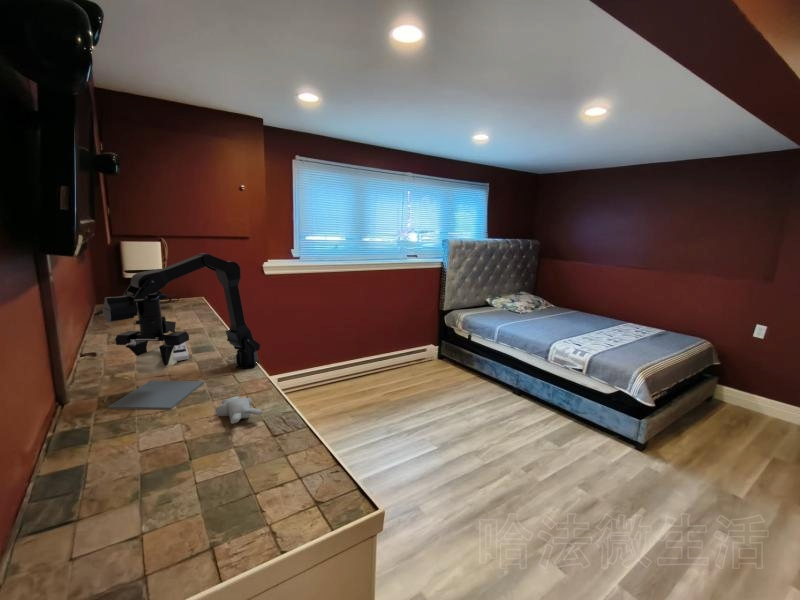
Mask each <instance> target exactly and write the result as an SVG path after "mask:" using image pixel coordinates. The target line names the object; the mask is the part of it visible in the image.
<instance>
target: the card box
mask: <svg viewBox="0 0 800 600" xmlns="http://www.w3.org/2000/svg"><path fill="white" fill-rule="evenodd" d="M135 360H136V361H135V362H136V369H137V373H138V374H151V375H152V374H153V375H156V374H157V373H160V372H162V371H164V370H165V369H168V368H169V367H172V366H173V365H175V361H174V353H173V350H172V353H171V356H170V360H169V363H168V365H166V366H165V365H164V363H163V360H162V356H161V352H160V348H159V347H155V348H154V349H151V350H147V352H146V353H144V354H141V355H139V356H136V355H135Z"/></svg>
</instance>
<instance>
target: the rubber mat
mask: <svg viewBox="0 0 800 600" xmlns="http://www.w3.org/2000/svg"><path fill="white" fill-rule="evenodd" d="M204 384H205V381H204V380H200V381H199V380H149V381H147V382H146V383H144V384H142V385H141V386H139V387H137V388H135V389H134V390H133V391H131V392H129V393H127V394H125V395H124V396H122V397H121V398H120V399H118V400H117V401H115V402H113V403H111V404H109V405H108V406H107V409H108V408H112V409H113V410H172V409H174V408H175V407H176V406H177V405H178V404H179V403H181V402H182V401H184V400H185V399H186V398H187V397H188V396H190V395H191V394H192V393H193V391H194V392H195V391H197V389H199V388H200V387H201V386H202V385H204ZM112 409H111V410H112Z"/></svg>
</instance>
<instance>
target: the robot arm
mask: <svg viewBox="0 0 800 600" xmlns="http://www.w3.org/2000/svg"><path fill="white" fill-rule="evenodd" d="M203 268H205V269H208V270H210V271H213V272H214V273H215V276H216V278H217V280H218V282H219V283H220V285H221V286H222V288H223V292H224V297H225V302H226V306H227V312H228V316H229V321H230V322H229V323H230V328H229V329H228V330H226V331H225V333H226V334H225V335H226V338H227V339H226V341H227V342H229V344H230V345H231V346H233V349H235V350H236V354H235V358H236V366H235V369H255V367H257V365H258V364H260V362H261V361H260V360H259V359H258V351H260V348H261V344H260V343H259V342H257V341H256V340H255V339H254V336H253V333H252V331H251V329H250V328H249V326H248V325H247V323H246V320H245V316H244V309H243V308H244V307H243V304H242V298H241V294H240V288H239V287H240V286H239V285H240V281H241V277H242V275H241V266H240V265H239V263H237V262H235V261H230V260H225V259H222V258H218V257H216V256H214V255H212V254H210V253H203V252H200V253H197V255H194V256H191V257H189V258H186V259H184V260H181V261H178V262H175V263H173V264H171V265H168V266H166V267H163V268H162V267H161V268H158V269H150V270H146V271H145V270H144V271H141V272H136V273H135V274H133V275H132V276H131V279H130V284H129V286H128V287H127V289H126V290H125V292H124V293H123V295H120V296H107V297H104V302H103V307H102V314H103V316H104V319H105V320H106V322H107V323H113V322H117V321H118V322H119V321H125V320H130V319H134V318H135V316H137V320H135V325H138V326H139V330H127V331H124V332H121V333H119V334H117V335H116V336H115V339H114V340H115V341H114V342H115V345H116V346H125V348H127V349H129V350H130V351H131V352H132V353H133V354H134V355H135V357H136V356H139V355H141V354H144V353H146V352H148V348H147V345H148V343H149V342H163V344H161V345H159V346H158V348H160V352H161V356H162V360H163V363H164V365H165V366H166V365H168V363H169V360H170V356H171V353H172V350H173V348H174V346H177V345H180V344H182V343H184V342H186V343H187V342H188V341H190V334H189V333H188V332H187V331H185V330H184V331H180V330H179V331H176V325H177V324H176V322H177V321H169V320H166V317H165V316H163V315H162V307H161V300H164V299H168V296H167V295H166V294H164V293H163V292H162V291H161V290H162V289H164V288H165V287H167V285H168V284H169V283H171V282H172V281H174V280H176V279H179V278H181V277H184V276H186V275H188V274H192V273H194V272H196V271H197V270H200V269H201V270H202V269H203ZM169 332H171V333H169ZM168 333H169V334H168ZM256 362H257V363H258V364H257V363H256ZM256 364H257V365H256Z"/></svg>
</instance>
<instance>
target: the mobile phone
mask: <svg viewBox="0 0 800 600" xmlns="http://www.w3.org/2000/svg"><path fill="white" fill-rule="evenodd" d="M173 353H174V361H175V364H177V362H179V361H185V360H189V357H190V353H189V350H188V346H187V341H186V342H184V343H182V344H180V345H177V346H174V348H173ZM175 364H174V365H175Z"/></svg>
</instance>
